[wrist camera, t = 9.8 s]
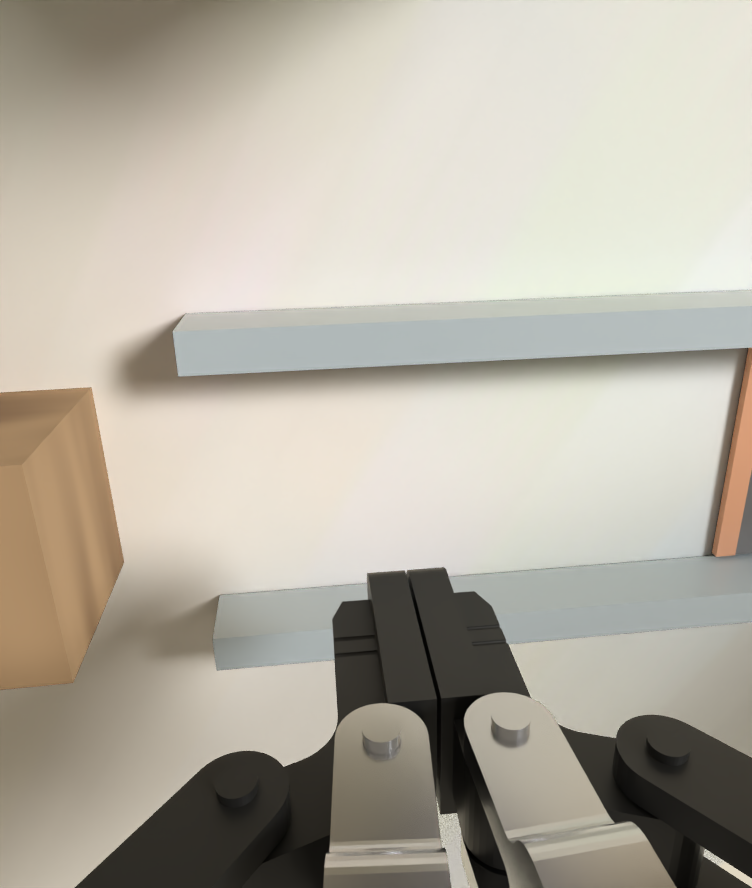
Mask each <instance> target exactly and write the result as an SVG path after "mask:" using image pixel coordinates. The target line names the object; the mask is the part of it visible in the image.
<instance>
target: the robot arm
mask: <svg viewBox="0 0 752 888" xmlns="http://www.w3.org/2000/svg"><path fill="white" fill-rule="evenodd" d="M367 592H368V600H356V601H343V602H342V603H341V605H340V606H339V608H338V610H337V611H336V613H335V615H334V617H333V618H332V625H333V642H334V658H335V675H336V691H337V708H338V723H337V727H336V730H335V732H334V734H333V736H332V737H331V739H330V740H329V742H328V743H327V744H326V745H325V746H324V747H323V748H321V749H320V750H319V751H318V752H316V753H315V754H313V755H311V756H310V757H308V758H306V759H303V760H301V761H298V762H296V763H293V764H291V765H288V766H285V767H283V766H282V765H281V764H280V763H279V762H278V761H277V760H276V759H274V758H273V757H271V756H269V755H267V754H264V753H260V752H255V751H240V752H234V753H230V754H227V755H224V756H221V757H219V758H217V759H215V760H213V761H212V762H210V763H209V764H207V765H206V766H205V767H204V768H202V769H201V770H200V771H199V772H198V773H197V774H196V775H195V776H194V777H193V778H192V779H190V780H189V781H188V782H187V783H186V784H185V785H184V786H183V787H182V788H181V789H180V790H179V791H178V792H177V793H175V794H174V795H173V796H172V797H171V798H170V799H169V800H168V801H167V802H166V803H165V804H164V805H163V806H162V807H161V808H159V809H158V810H157V811H156V812H155V813H154V814H153V815H152V816H151V817H150V818H149V819H148V820H147V821H146V822H144V823H143V824H142V825H141V826H140V827H139V828H138V829H137V830H136V831H135V832H134V833H133V834H132V835H131V836H130V837H128V838H127V839H126V840H125V841H124V842H123V843H122V844H121V845H120V846H119V847H118V848H117V849H116V850H115V851H114V852H112V853H111V854H110V855H109V856H108V857H107V858H106V859H105V860H104V861H103V862H102V863H101V864H100V865H99V866H97V867H96V868H95V869H94V870H93V871H92V872H91V873H90V874H89V875H88V876H87V877H86V878H85V879H84V880H83V881H81V882H80V883H79V884H78V885H77V886H76V887H75V888H451V882H450V874H449V866H448V859H447V854H446V850H445V848H442V845H441V838H440V829H439V821H438V812H437V804H436V796H437V801H438V805H439V810H440V814H450V813H457V815H458V819H459V823H460V827H461V859H462V864H463V867H464V870H465V873H466V876H467V880H468V883H469V886H470V888H751V887H750V886H749V885H747V884H745V883H744V882H742V881H740V880H739V879H738V878H736V877H735V876H733V875H731V874H730V873H728V872H727V871H725V870H724V869H722V868H721V867H719V866H718V865H716V864H715V863H713V862H712V861H710V860H708V859H707V858H705V857H704V856H703V853H704V848H705V849H707V850H708V851H710V852H711V853H713V854H714V855H716V856H718V857H719V858H721V859H722V860H724V861H725V862H727V863H729V864H730V865H732V866H733V867H735V868H736V869H738V870H739V871H741V872H743V873H744V874H746V875H747V876H749V877H750V878H752V758H751V757H749V756H747V755H745V754H743V753H741V752H739V751H738V750H736V749H734V748H732V747H730V746H728V745H726V744H724V743H722V742H721V741H719V740H717V739H715V738H713V737H711V736H709V735H707V734H705V733H703V732H702V731H700V730H698V729H696V728H694V727H692V726H690V725H688V724H686V723H684V722H682V721H679V720H676V719H674V718H670V717H666V716H659V715H643V716H638V717H634V718H632V719H630V720H628V721H626V722H625V723H624V724H623V725H622V726H621V727H620V728H619V730H618V733H617V736H616V738H610V737H604V736H598V735H592V734H586V733H581V732H576V731H573V730H570V729H567V728H565V727H563V726H560V725H558V724H557V722H556V720H555V718H554V717H553V715H552V714H551V712H550V711H549V710H548V709H547V708H546V707H544V706H543V705H542V704H541V703H539V702H537V701H536V700H534V699H532V698H531V697H530V695H529V692H528V690H527V688H526V685H525V683H524V681H523V678H522V676H521V673H520V671H519V669H518V666H517V664H516V662H515V659H514V657H513V655H512V652H511V650H510V648H509V645H508V643H506V638H505V636H504V634H503V631H502V629H501V628H500V624H499V622H498V619H497V617H496V615H495V612H494V610H493V608H492V606H491V605H490V604H489V603H488V602H486V601H485V600H484V599H483V598H482V597H481V596H479V595H478V594H477V593H476V592H475V591H470V592H457V593H454V591H453V588H452V585H451V583H450V580H449V577H448V574H447V571H446V569H445V568H444V567H442V568H429V569H416V570H407V573H405V571H391V572H377V573H367Z"/></svg>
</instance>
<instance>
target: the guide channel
mask: <svg viewBox="0 0 752 888" xmlns="http://www.w3.org/2000/svg"><path fill="white" fill-rule="evenodd" d="M173 339H174V347H175V355H176V362H177V370H178V377H180V376H199V375H219V374H239V373H259V372H278V371H298V370H318V369H338V368H357V367H377V366H397V365H417V364H437V363H456V362H476V361H496V360H516V359H535V358H555V357H575V356H595V355H614V354H634V353H654V352H674V351H694V350H713V349H733V348H748V354H747V359H746V365H745V370H744V376H743V382H742V387H741V393H740V398H739V404H738V409H737V415H736V421H735V426H734V432H733V437H732V443H731V449H730V454H729V460H728V465H727V471H726V476H725V482H724V488H723V493H722V499H721V504H720V510H719V515H718V521H717V527H716V532H715V538H714V543H713V549H712V553H713V554H714V556H701V557H689V558H676V559H664V560H651V561H639V562H626V563H614V564H602V565H589V566H577V567H564V568H552V569H539V570H527V571H514V572H502V573H490V574H477V575H465V576H452V577H449V580H450V583H451V585H452V588H453V591H454V593H457V592H470V591H475V592H476V593H477V594H478V595H479V596H481V597H482V598H483V599H484V600H485V601H486V602H488V603H489V604H490V605H491V606H492V608H493V610H494V612H495V615H496V617H497V619H498V622H499V624H500V628H501V629H502V631H503V634H504V636H505V638H506V643H508V644H516V643H527V642H538V641H549V640H560V639H571V638H582V637H593V636H605V635H616V634H627V633H638V632H649V631H660V630H671V629H682V628H693V627H704V626H715V625H726V624H737V623H748V622H752V290H734V291H710V292H686V293H663V294H639V295H615V296H591V297H568V298H544V299H520V300H497V301H473V302H449V303H425V304H402V305H378V306H354V307H331V308H307V309H283V310H259V311H236V312H212V313H188V314H185V315H184V316H183V318H182V319H181V321H180V322H179V323H178V325H177V326H176V327H175V329H174V330H173ZM356 600H368V592H367V583H365V584H353V585H340V586H328V587H315V588H303V589H291V590H278V591H266V592H253V593H241V594H228V595H220V597H219V603H218V609H217V615H216V621H215V627H214V633H213V647H214V654H215V662H216V670H217V671H218V670H229V669H240V668H251V667H262V666H273V665H284V664H295V663H306V662H317V661H328V660H335V658H334V642H333V625H332V618H333V617H334V615H335V613H336V611H337V610H338V608H339V606H340V605H341V603H342V602H343V601H356Z"/></svg>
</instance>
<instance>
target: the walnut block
mask: <svg viewBox="0 0 752 888" xmlns="http://www.w3.org/2000/svg"><path fill="white" fill-rule="evenodd" d="M123 563H124V560H123V554H122V549H121V544H120V538H119V533H118V528H117V522H116V517H115V511H114V506H113V501H112V495H111V490H110V485H109V479H108V474H107V468H106V463H105V458H104V452H103V447H102V442H101V436H100V431H99V426H98V420H97V415H96V409H95V404H94V399H93V393H92V388H91V387H90V388H73V389H55V390H38V391H21V392H4V393H0V690H4V689H15V688H25V687H36V686H46V685H56V684H67V683H73V682H74V680H75V677H76V675H77V673H78V670H79V668H80V666H81V663H82V661H83V658H84V656H85V654H86V651H87V649H88V647H89V644H90V642H91V639H92V637H93V635H94V632H95V630H96V628H97V625H98V623H99V620H100V618H101V616H102V613H103V611H104V609H105V606H106V604H107V601H108V599H109V597H110V594H111V592H112V590H113V587H114V585H115V582H116V580H117V578H118V575H119V573H120V571H121V568H122V566H123Z"/></svg>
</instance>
